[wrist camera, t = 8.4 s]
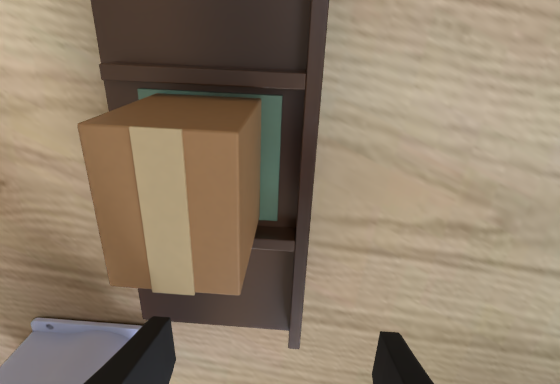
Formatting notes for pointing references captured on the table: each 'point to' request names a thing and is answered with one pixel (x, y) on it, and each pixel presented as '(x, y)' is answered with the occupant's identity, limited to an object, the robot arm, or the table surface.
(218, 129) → the parcel
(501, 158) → the table surface
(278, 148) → the rack
